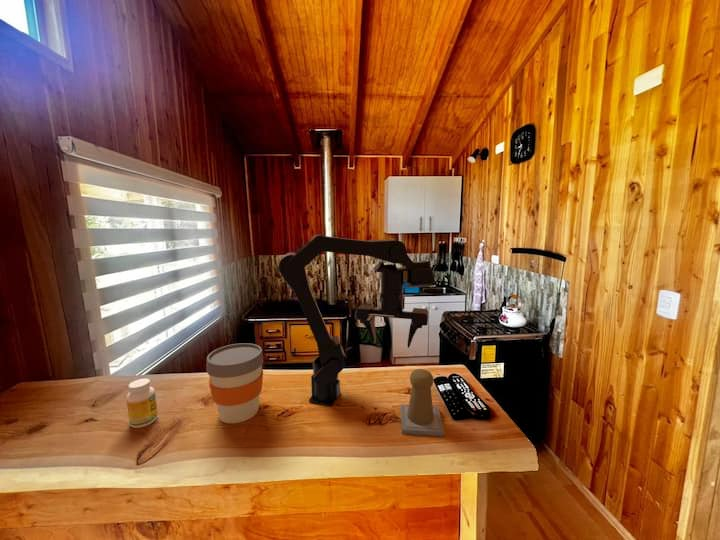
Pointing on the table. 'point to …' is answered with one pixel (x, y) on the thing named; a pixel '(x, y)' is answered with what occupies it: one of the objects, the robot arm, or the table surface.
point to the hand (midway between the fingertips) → (391, 345)
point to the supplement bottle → (141, 403)
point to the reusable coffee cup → (236, 380)
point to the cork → (421, 398)
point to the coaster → (430, 429)
